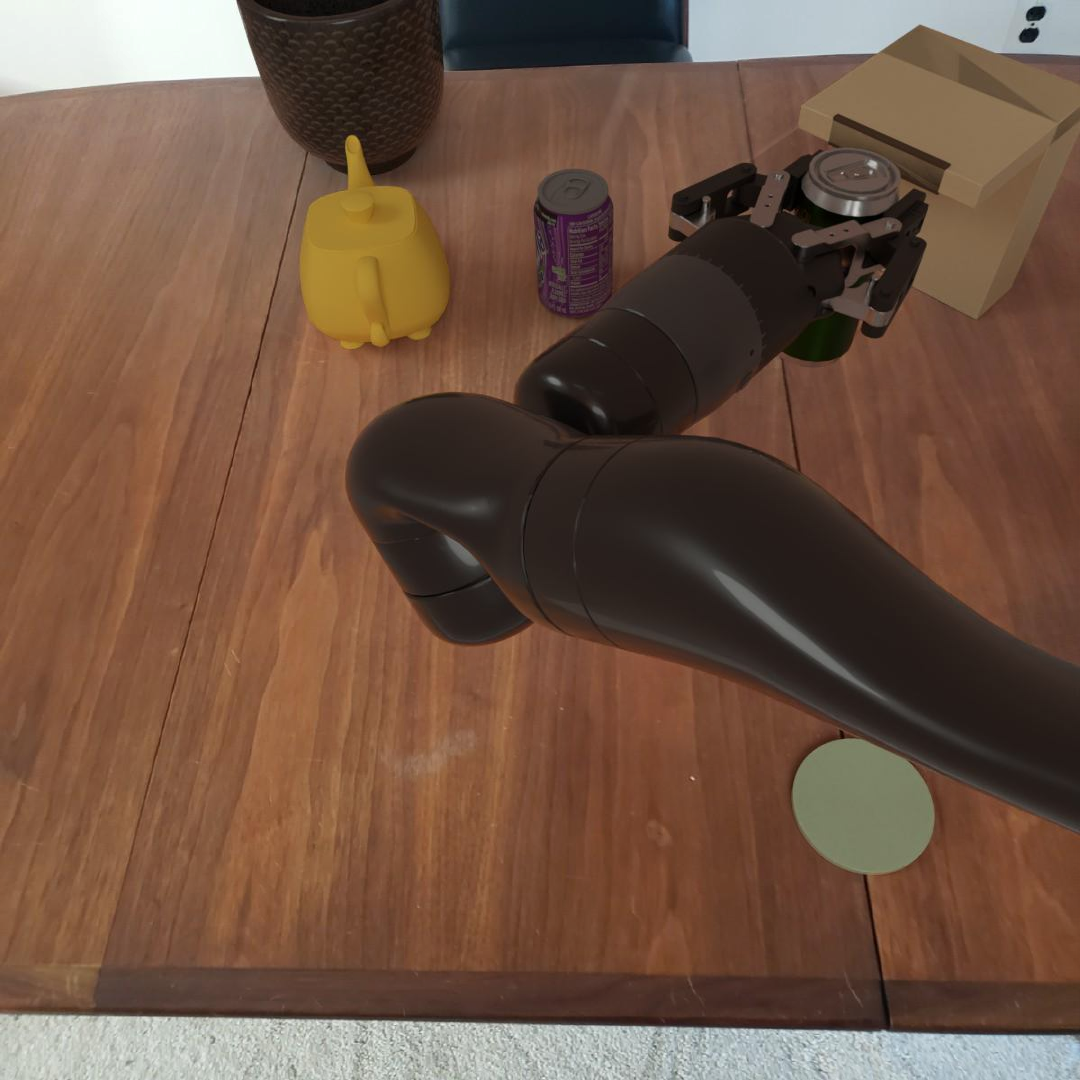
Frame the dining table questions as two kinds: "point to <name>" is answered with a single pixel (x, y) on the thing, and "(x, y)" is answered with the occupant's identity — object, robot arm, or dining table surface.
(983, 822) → the dining table surface
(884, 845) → the coaster
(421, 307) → the teapot
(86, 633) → the dining table surface
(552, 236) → the beverage can
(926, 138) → the lidded cardboard box
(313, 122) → the planter
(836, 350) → the beer can
